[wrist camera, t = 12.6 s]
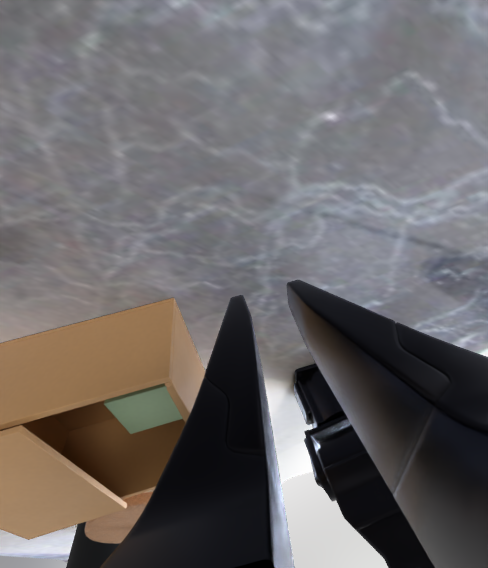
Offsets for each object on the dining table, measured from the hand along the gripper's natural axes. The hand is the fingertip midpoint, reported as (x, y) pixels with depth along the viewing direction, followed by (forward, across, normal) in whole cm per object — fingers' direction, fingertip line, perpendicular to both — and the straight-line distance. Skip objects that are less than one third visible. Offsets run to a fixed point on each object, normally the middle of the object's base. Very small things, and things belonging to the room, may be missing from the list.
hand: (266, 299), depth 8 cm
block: (+12, +10, +14) cm, 21 cm away
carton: (+12, +14, +14) cm, 24 cm away
